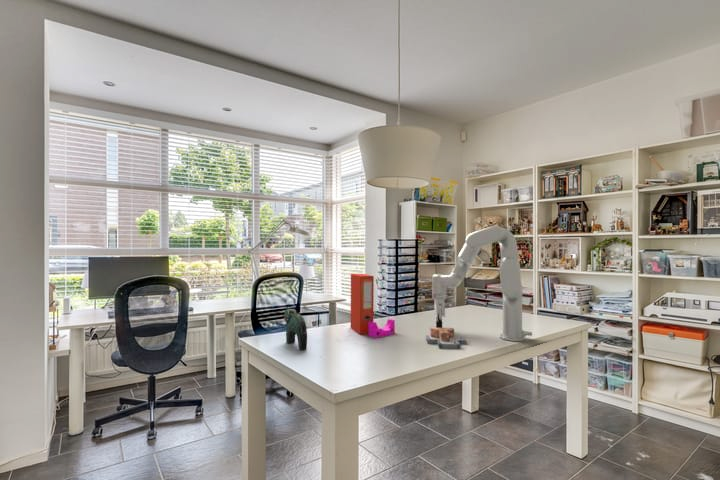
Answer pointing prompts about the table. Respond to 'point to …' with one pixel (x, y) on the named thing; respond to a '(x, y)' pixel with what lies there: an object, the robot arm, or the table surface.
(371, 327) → the toy block
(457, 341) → the T outline
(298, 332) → the dark green animal figurine
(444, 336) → the T block
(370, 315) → the file binder
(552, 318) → the table surface
